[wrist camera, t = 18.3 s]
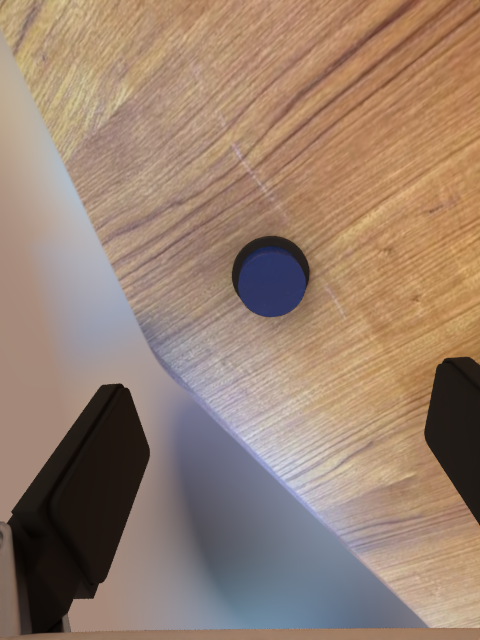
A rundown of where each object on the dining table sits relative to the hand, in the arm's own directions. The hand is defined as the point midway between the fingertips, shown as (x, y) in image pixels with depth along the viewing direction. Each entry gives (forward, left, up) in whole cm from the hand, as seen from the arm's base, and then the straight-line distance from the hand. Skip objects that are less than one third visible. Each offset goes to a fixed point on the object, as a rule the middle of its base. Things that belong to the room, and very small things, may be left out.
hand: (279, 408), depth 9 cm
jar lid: (+1, 0, -14) cm, 14 cm away
